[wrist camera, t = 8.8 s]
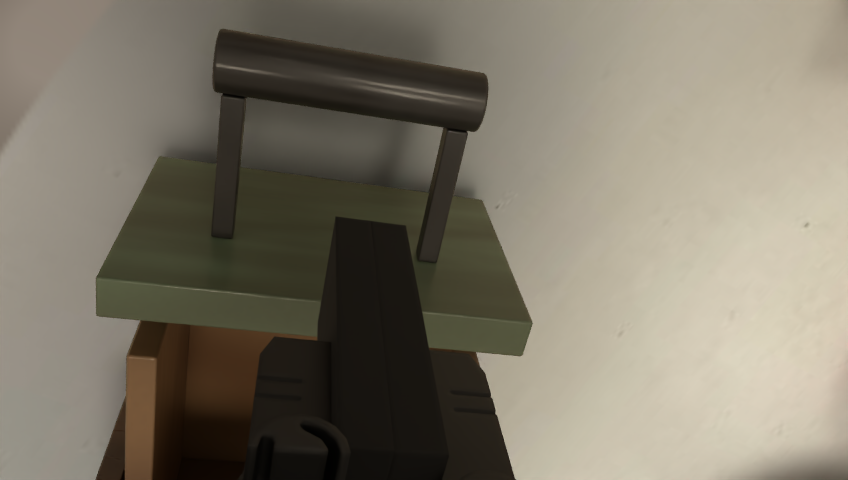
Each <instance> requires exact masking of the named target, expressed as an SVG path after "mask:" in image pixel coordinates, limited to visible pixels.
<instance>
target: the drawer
mask: <svg viewBox="0 0 848 480" xmlns="http://www.w3.org/2000/svg"><path fill="white" fill-rule="evenodd" d="M213 89H214V91H215V92H217V93H223V94H222V96H221V108H220V121H219V135H218V148H217V162H216V164H213V163H206V162H198V161H191V160H184V159H176V158H169V157H162V156H160V157H159V158H158V160H157V162H156V164H155V165H154V167H153V169H152V171H151V173H150V175H149V177H148V179H147V181H146V183H145V185H144V187H143V189H142V190H141V192H140V194H139V196H138V198H137V200H136V202H135V204H134V206H133V208H132V210H131V212H130V214H129V216H128V217H127V219H126V221H125V223H124V225H123V227H122V229H121V231H120V233H119V235H118V237H117V239H116V241H115V242H114V244H113V246H112V248H111V250H110V252H109V254H108V256H107V258H106V260H105V262H104V264H103V266H102V267H101V269H100V271H99V273H98V275H97V277H96V314H97V316H100V317H110V318H121V319H132V320H140V323H139V325H138V328H137V330H136V333H135V336H134V338H133V341H132V343H131V346H130V349H129V351H128V354H127V358H126V424H125V480H238V478H239V477H240V475H241V474H242V472H243V469H244V466H245V461H246V453H247V446H248V441H249V433H250V425H251V418H252V410H253V402H254V395H255V387H256V380H257V372H258V364H259V357H260V353H261V352H262V351H263V350H264V348H265V347H266V346H267V345H268V344H269V342H270V341H271V340H272V339H273V338H274V337H284V338H295V339H305V340H315V341H317V330H318V318H319V312H320V306H321V300H322V294H323V288H324V282H325V276H326V270H327V264H328V258H329V252H330V246H331V240H332V234H333V229H334V223H335V217H336V216H337V217H345V218H353V219H360V220H368V221H375V222H383V223H391V224H398V225H406V229H407V234H408V239H409V245H410V250H411V255H412V261H413V266H414V271H415V276H416V282H417V287H418V292H419V298H420V303H421V308H422V313H423V319H424V324H425V329H426V335H427V340H428V345H429V350H437V351H447V352H457V353H467V354H470V356H471V357H472V358H473V359H474V360H475V362H476V363H477V364H478V365H479V361H478V358H477V354H476V352H481V353H492V354H502V355H513V356H522V355H523V351H524V348H525V345H526V342H527V339H528V336H529V333H530V330H531V327H532V324H533V323H532V320H531V318H530V315H529V313H528V310H527V308H526V305H525V303H524V301H523V298H522V296H521V293H520V291H519V288H518V286H517V284H516V281H515V279H514V276H513V274H512V271H511V269H510V267H509V264H508V262H507V259H506V257H505V254H504V252H503V250H502V247H501V245H500V242H499V240H498V237H497V235H496V233H495V230H494V228H493V225H492V223H491V220H490V218H489V216H488V213H487V211H486V208H485V206H484V203H483V201H482V200H478V199H471V198H464V197H456V196H453V194H454V190H455V186H456V181H457V177H458V173H459V169H460V165H461V161H462V156H463V152H464V148H465V144H466V140H467V136H468V133H467V131H470V132H475V131H477V130H478V129H479V127H480V125H481V123H482V121H483V118H484V115H485V111H486V106H487V100H488V79H487V76H486V75H485V74H484V73H480V72H474V71H468V70H462V69H456V68H451V67H445V66H439V65H433V64H427V63H421V62H415V61H409V60H404V59H398V58H392V57H386V56H380V55H374V54H368V53H362V52H357V51H351V50H345V49H339V48H333V47H327V46H321V45H315V44H310V43H304V42H298V41H292V40H286V39H280V38H274V37H269V36H263V35H257V34H251V33H245V32H239V31H233V30H227V29H220V31H219V33H218V36H217V40H216V46H215V53H214V62H213ZM247 97H249V98H256V99H262V100H269V101H275V102H282V103H288V104H295V105H301V106H308V107H314V108H321V109H327V110H334V111H340V112H347V113H353V114H360V115H366V116H373V117H379V118H386V119H392V120H399V121H405V122H412V123H418V124H425V125H431V126H438V127H444V128H443V132H442V137H441V141H440V146H439V150H438V155H437V159H436V164H435V168H434V173H433V177H432V182H431V186H430V191H429V193H427V192H419V191H412V190H405V189H397V188H390V187H383V186H375V185H368V184H360V183H353V182H346V181H338V180H331V179H324V178H316V177H309V176H302V175H294V174H287V173H279V172H272V171H265V170H257V169H250V168H243V167H240V165H241V154H242V143H243V132H244V121H245V110H246V99H247ZM479 366H480V365H479Z"/></svg>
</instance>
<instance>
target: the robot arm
mask: <svg viewBox="0 0 848 480" xmlns="http://www.w3.org/2000/svg"><path fill="white" fill-rule="evenodd" d="M490 396H491V393H490V389H489V386H488V382H487V378H486V375H485V372H484V371H483V370H482V369H481V368H480V366H479V365H478V364H477V363H476V362H475V360H474V359H473V358H472V357H471V356H470V354H467V353H457V352H447V351H437V350H429V345H428V340H427V335H426V329H425V324H424V319H423V313H422V308H421V303H420V298H419V292H418V287H417V282H416V276H415V271H414V266H413V261H412V255H411V250H410V245H409V239H408V234H407V229H406V225H398V224H391V223H383V222H375V221H368V220H360V219H353V218H345V217H337V216H336V217H335V223H334V229H333V234H332V240H331V246H330V252H329V258H328V264H327V270H326V276H325V282H324V288H323V294H322V300H321V306H320V312H319V318H318V330H317V341H315V340H305V339H295V338H284V337H274V338H273V339H272V340H271V341H270V342H269V344H268V345H267V346H266V347H265V348H264V350H263V351H262V352H261V353H260V357H259V364H258V372H257V380H256V387H255V395H254V402H253V410H252V418H251V425H250V433H249V441H248V446H247V453H246V461H245V466H244V469H243V472H242V474H241V475H240V477H239V478H238V480H516V479H515V477H514V474H513V471H512V467H511V464H510V460H509V456H508V453H507V449H506V446H505V442H504V439H503V435H502V432H501V428H500V425H499V421H498V417H497V415H495V411H496V410H495V407H494V403H493V400H492V398H491V397H490Z"/></svg>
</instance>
